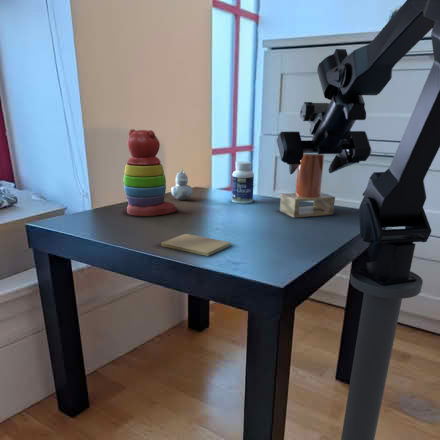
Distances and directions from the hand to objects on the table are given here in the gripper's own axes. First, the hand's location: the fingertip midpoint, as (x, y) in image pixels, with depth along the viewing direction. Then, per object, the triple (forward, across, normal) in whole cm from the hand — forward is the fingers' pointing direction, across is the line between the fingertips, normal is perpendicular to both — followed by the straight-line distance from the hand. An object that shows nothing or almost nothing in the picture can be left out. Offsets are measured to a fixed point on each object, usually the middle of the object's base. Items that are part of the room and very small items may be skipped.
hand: (310, 172), depth 92 cm
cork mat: (-8, +29, +21) cm, 36 cm away
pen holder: (+4, 0, +3) cm, 5 cm away
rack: (+7, 0, +6) cm, 9 cm away
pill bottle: (+17, +12, -4) cm, 21 cm away
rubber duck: (+22, +26, -8) cm, 35 cm away
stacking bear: (+12, +36, +1) cm, 38 cm away
